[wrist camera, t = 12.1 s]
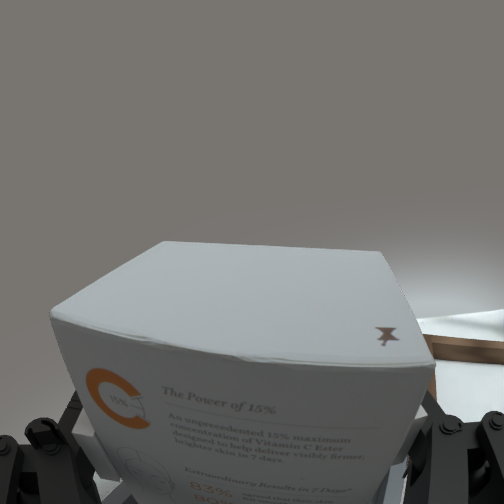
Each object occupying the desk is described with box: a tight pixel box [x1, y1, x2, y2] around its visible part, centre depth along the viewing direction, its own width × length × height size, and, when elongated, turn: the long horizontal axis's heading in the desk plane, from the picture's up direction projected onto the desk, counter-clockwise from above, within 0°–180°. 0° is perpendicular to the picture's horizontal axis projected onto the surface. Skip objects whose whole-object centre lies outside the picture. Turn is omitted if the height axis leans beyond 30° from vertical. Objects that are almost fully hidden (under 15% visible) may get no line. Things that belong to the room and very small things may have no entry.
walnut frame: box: [409, 334, 504, 464], centre depth 19 cm, size 16×16×2 cm
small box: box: [49, 241, 436, 504], centre depth 10 cm, size 8×6×13 cm
